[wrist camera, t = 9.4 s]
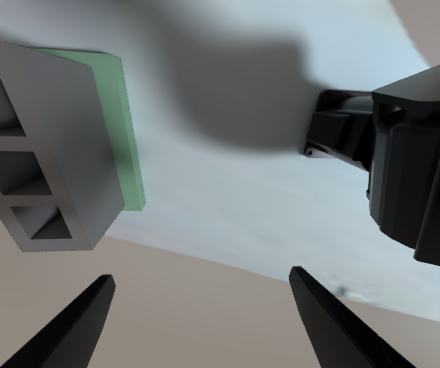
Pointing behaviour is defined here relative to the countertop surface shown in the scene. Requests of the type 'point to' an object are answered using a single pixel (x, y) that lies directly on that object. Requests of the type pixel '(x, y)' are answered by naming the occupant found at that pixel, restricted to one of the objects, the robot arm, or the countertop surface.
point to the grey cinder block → (54, 154)
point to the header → (114, 120)
